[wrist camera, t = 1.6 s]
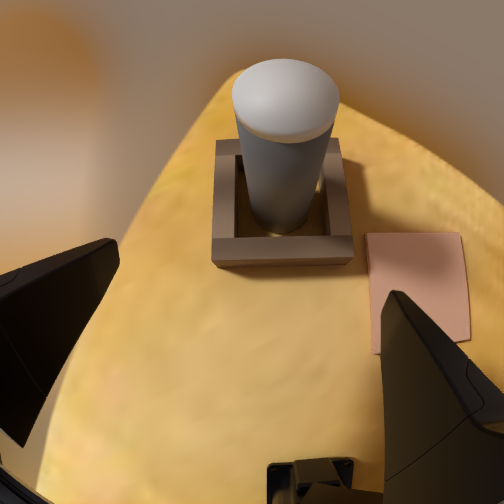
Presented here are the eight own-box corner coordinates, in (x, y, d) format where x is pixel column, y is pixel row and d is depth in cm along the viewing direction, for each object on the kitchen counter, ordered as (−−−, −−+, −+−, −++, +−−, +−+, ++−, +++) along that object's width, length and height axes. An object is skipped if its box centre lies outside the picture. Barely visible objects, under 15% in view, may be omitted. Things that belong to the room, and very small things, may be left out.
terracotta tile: (466, 338, 20) (470, 338, 19) (371, 353, 20) (374, 353, 20) (455, 234, 22) (459, 232, 21) (364, 235, 23) (366, 232, 22)
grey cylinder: (310, 233, 23) (348, 132, 11) (251, 234, 23) (230, 133, 11) (306, 179, 24) (330, 60, 12) (250, 181, 24) (233, 60, 12)
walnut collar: (345, 264, 22) (354, 256, 20) (217, 267, 23) (211, 260, 20) (332, 154, 24) (338, 137, 22) (220, 156, 25) (216, 140, 23)
